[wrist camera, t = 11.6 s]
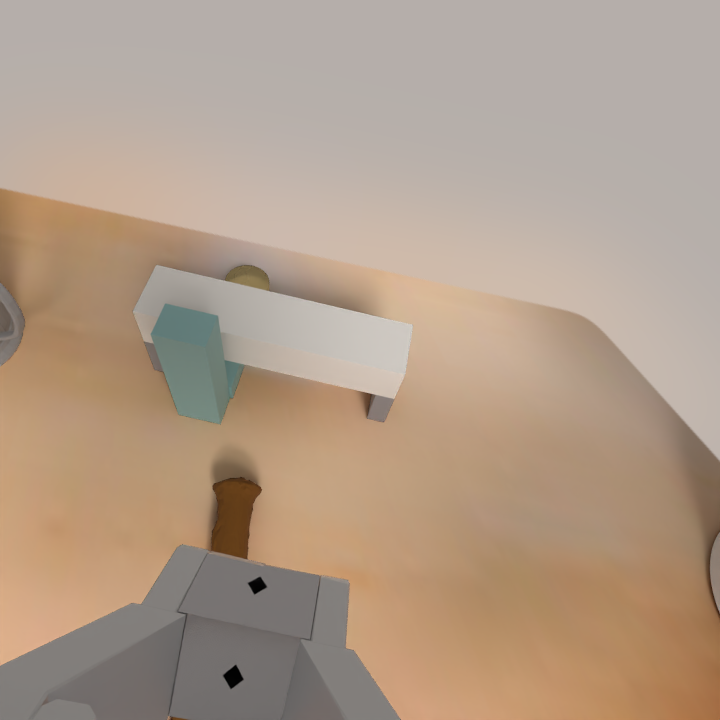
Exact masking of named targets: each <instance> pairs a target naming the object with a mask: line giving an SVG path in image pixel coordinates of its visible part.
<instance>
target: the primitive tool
mask: <svg viewBox="0 0 720 720" xmlns="http://www.w3.org/2000/svg"><path fill="white" fill-rule="evenodd" d="M213 490H214V492H215V494H216V497H217V501H218V511H217V513H218V520H217V522H216V524H215V527H214V529H213V531H212V551H215V552H219V553H223V554H227V555H231V556H235V557H240V558H244V559H247V554H248V553H247V552H248V539H249V526H250V520H251V514H252V511H253V503H254V501H255V499H256V497H257V496H258V495H259V494H260V493H261V491H262V489H261V487H260V486H258V485H257V484H255V483H253V482H252V481H250V480H245V479H244V478H242V477H240V478H230V479H226V480H223V481H220V482H218V483H215V484H214V485H213ZM171 720H189V719H183V718H177V717H172V719H171Z"/></svg>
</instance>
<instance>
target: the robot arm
mask: <svg viewBox="0 0 720 720" xmlns="http://www.w3.org/2000/svg"><path fill="white" fill-rule="evenodd" d="M710 577H711V584H712V590H713V594H714V598H715V601H716V604H717V607H718V610H719V612H720V532H719V534H718V535H717V537H716V539H715V542H714V544H713V548H712V552H711V558H710ZM349 587H350V583H349V581H348V580H345V579H340V578H335V577H329V576H324V575H321V576H319V575H315V574H310V573H305V572H300V571H295V570H290V569H285V568H280V567H275V566H271V565H266V564H264V563H260V562H256V561H252V560H248V559H244V558H240V557H235V556H231V555H227V554H223V553H219V552H215V551H208V550H206V549H202V548H197V547H192V546H188V545H183V544H182V545H180V546H179V547H177V548H176V550H175V551H174V553H173V555H172V556H171V558H170V559H169V561H168V563H167V564H166V566H165V567H164V569H163V571H162V572H161V574H160V575H159V577H158V578H157V580H156V582H155V583H154V585H153V586H152V588H151V590H150V591H149V593H148V594H147V596H146V598H145V599H144V601H143V602H142V604H141V605H140V604H135V603H131V604H129V605H127V606H125V607H123V608H121V609H118V610H116V611H114V612H112V613H110V614H108V615H106V616H104V617H102V618H100V619H97V620H95V621H93V622H91V623H89V624H87V625H85V626H83V627H81V628H79V629H76V630H74V631H72V632H70V633H68V634H66V635H64V636H62V637H60V638H58V639H55V640H53V641H51V642H49V643H47V644H45V645H43V646H41V647H39V648H37V649H34V650H32V651H30V652H28V653H26V654H24V655H22V656H20V657H18V658H16V659H14V660H11V661H9V662H7V663H5V664H3V665H1V666H0V720H167V718H168V716H172V717H177V718H183V719H189V720H401V719H400V718H399V716H398V715H397V713H396V712H395V710H394V709H393V707H392V706H391V704H390V703H389V701H388V700H387V698H386V697H385V695H384V694H383V693H382V691H381V690H380V688H379V687H378V685H377V684H376V682H375V681H374V679H373V678H372V676H371V675H370V673H369V672H368V670H367V669H366V667H365V666H364V664H363V663H362V661H361V660H360V659H359V657H358V656H357V654H356V653H355V651H354V650H350V649H346V634H347V618H348V602H349Z"/></svg>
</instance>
